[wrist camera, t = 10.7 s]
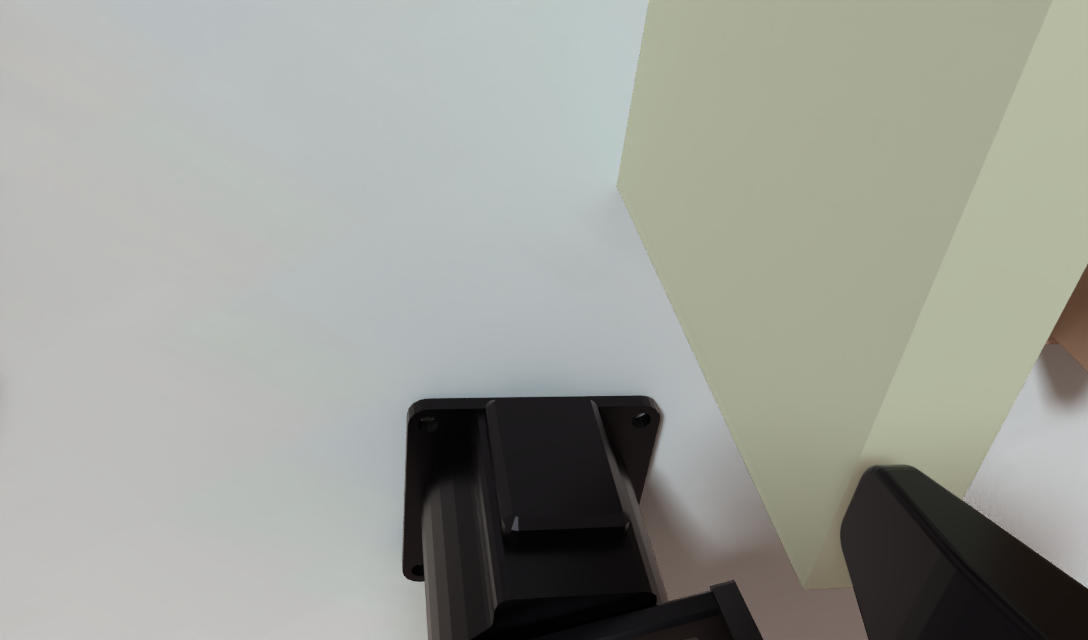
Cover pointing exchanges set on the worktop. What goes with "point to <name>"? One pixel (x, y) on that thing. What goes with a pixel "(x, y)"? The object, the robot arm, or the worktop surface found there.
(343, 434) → the worktop surface
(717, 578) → the worktop surface
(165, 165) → the worktop surface
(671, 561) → the worktop surface
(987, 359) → the green sheet
